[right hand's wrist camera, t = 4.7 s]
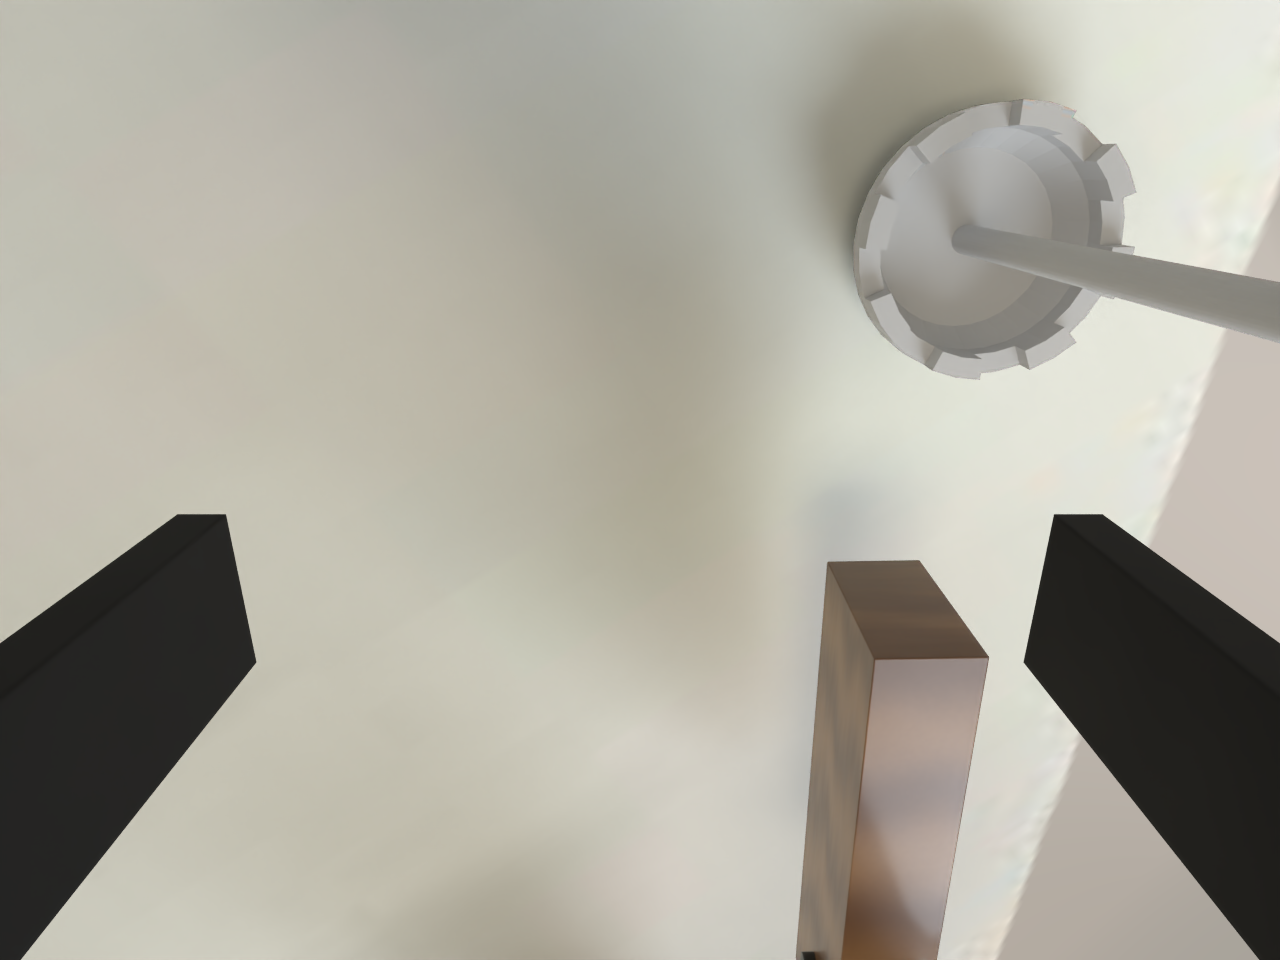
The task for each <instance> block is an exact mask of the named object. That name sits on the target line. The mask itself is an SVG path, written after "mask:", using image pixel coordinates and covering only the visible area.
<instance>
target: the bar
mask: <svg viewBox="0 0 1280 960" xmlns="http://www.w3.org/2000/svg"><path fill="white" fill-rule="evenodd" d="M988 660H989V656H988V655H987V654H986V652H985V651H984V649H983V648H982V647H981V645H980V644H979V642H978V641H977V640H976V638H975V637H974V636H973V634H972V633H971V631H970V630H969V629H968V627H967V626H966V624H965V623H964V622H963V620H962V619H961V617H960V616H959V615H958V613H957V612H956V611H955V609H954V608H953V606H952V605H951V604H950V602H949V601H948V599H947V598H946V597H945V595H944V594H943V593H942V591H941V590H940V588H939V587H938V586H937V584H936V583H935V581H934V580H933V579H932V577H931V576H930V574H929V573H928V572H927V570H926V569H925V568H924V566H923V565H922V563H921V562H920V561H919V560H908V561H846V562H828V563H827V573H826V585H825V598H824V610H823V623H822V635H821V648H820V661H819V673H818V686H817V698H816V711H815V723H814V736H813V748H812V761H811V773H810V786H809V799H808V811H807V824H806V836H805V849H804V861H803V874H802V886H801V899H800V911H799V924H798V936H797V949H796V960H800V957H801V952H803V951H813V952H814V954H815V958H816V960H937V955H938V949H939V943H940V937H941V932H942V926H943V920H944V914H945V909H946V903H947V897H948V891H949V886H950V880H951V874H952V868H953V862H954V857H955V851H956V845H957V839H958V834H959V828H960V822H961V816H962V810H963V805H964V799H965V793H966V787H967V782H968V776H969V770H970V764H971V758H972V753H973V747H974V741H975V735H976V730H977V724H978V718H979V712H980V706H981V701H982V695H983V689H984V683H985V678H986V672H987V666H988Z"/></svg>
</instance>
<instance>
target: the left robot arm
mask: <svg viewBox="0 0 1280 960" xmlns="http://www.w3.org/2000/svg"><path fill="white" fill-rule="evenodd" d="M800 960H816V958H815V954H814V952H813V951H803V952H801V957H800Z"/></svg>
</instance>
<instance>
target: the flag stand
mask: <svg viewBox="0 0 1280 960" xmlns="http://www.w3.org/2000/svg"><path fill="white" fill-rule="evenodd" d="M1075 112H1076V110H1073V109H1070V108H1068V107H1065V106H1062V105H1059V104H1056V103H1053V102H1048V101H1038V100H1028V99H1021V100H1015V101H1007V102H999V103H990V104H983V105H977V106H973V107H970V108H967V109H964V110H961V111H958V112H955V113H952V114H949V115H947V116H945V117H943V118H941V119H939V120H938V121H936V122H934V123H932V124H931V125H929V126H927V127H925V128H923V129H922V130H921V131H920V132H918V133H917V134H916V135H915V136H914V137H912V138H911V139H910V140H909V141H908V142H906V143H905V144H904V145H903V146H901V148H900V149H899V150H898V151H897V152H896V153H895V155H894V156H893V157H892V158H891V159H890V160H889V162H888V163H887V164H886V165H885V166H884V167H883V169H882V170H881V172H880V174H879V175H878V177H877V179H876V180H875V182H874V184H873V185H872V187H871V189H870V190H869V192H868V194H867V197H866V200H865V202H864V205H863V207H862V210H861V213H860V215H859V218H858V223H857V228H856V234H855V239H854V244H853V264H854V275H855V280H856V285H857V290H858V295H859V297H860V299H861V301H862V304H863V306H864V308H865V311H866V313H867V315H868V317H869V318H870V320H871V321H872V322H873V324H874V325H875V327H876V328H877V329H878V331H879V332H880V334H881V335H882V336H883V337H885V338H886V339H887V340H888V341H889V342H890V343H891V344H893V345H894V346H895V347H896V348H897V349H898V350H900V351H901V352H902V353H904V354H905V355H907V356H909V357H911V358H913V359H914V360H916V361H918V362H920V363H922V364H923V365H925V366H927V367H928V368H929V369H931V370H932V371H935V372H939V373H942V374H945V375H949V376H952V377H955V378H967V379H978V380H980V374H981V373H986V372H996V371H999V370H1002V369H1006V368H1009V367H1013V366H1016V365H1022V366H1024V367H1025V368H1027V369H1029V370H1030V369H1032V368H1034V367H1036V366H1039V365H1041V364H1043V363H1045V362H1047V361H1049V360H1051V359H1053V358H1055V357H1056V356H1057V355H1059V354H1060V353H1062V352H1063V351H1065V350H1066V349H1067V348H1069V347H1070V346H1072V345H1073V344H1074V343H1076V341H1075V340H1074V338H1073V337H1072V336H1071V335H1070V332H1071V331H1072V330H1073V329H1074V328H1075V327H1076V326H1077V325H1078V324H1079V323H1080V322H1081V321H1082V320H1083V319H1084V318H1085V317H1086V316H1087V314H1088V313H1089V311H1090V310H1091V309H1092V307H1093V306H1094V305H1095V303H1096V302H1097V300H1098V299H1099V298H1100V296H1103V297H1107V298H1110V299H1114V297H1117V298H1120V299H1124V300H1127V301H1131V302H1134V303H1138V304H1142V305H1145V306H1149V307H1152V308H1156V309H1159V310H1163V311H1167V312H1170V313H1174V314H1177V315H1181V316H1184V317H1188V318H1192V319H1195V320H1199V321H1202V322H1206V323H1209V324H1213V325H1217V326H1220V327H1224V328H1227V329H1231V330H1234V331H1238V332H1242V333H1245V334H1249V335H1252V336H1256V337H1259V338H1263V339H1267V340H1270V341H1274V342H1277V343H1280V282H1275V281H1270V280H1264V279H1259V278H1254V277H1248V276H1243V275H1237V274H1232V273H1227V272H1221V271H1216V270H1210V269H1205V268H1200V267H1194V266H1189V265H1183V264H1178V263H1173V262H1167V261H1162V260H1156V259H1151V258H1146V257H1140V256H1135V255H1133V252H1134V248H1135V247H1132V246H1126V245H1121V244H1122V236H1123V227H1124V219H1125V217H1124V204H1123V198H1124V197H1126V196H1129V195H1131V194H1133V193H1136V189H1135V186H1134V182H1133V179H1132V175H1131V172H1130V169H1129V166H1128V164H1127V162H1126V161H1125V159H1124V157H1123V155H1122V153H1121V152H1120V150H1119V148H1118V146H1117V144H1102V143H1101V142H1100V141H1099V140H1098V139H1097V138H1096V137H1095V136H1094V135H1093V134H1092V133H1091V132H1090V130H1089V129H1088V128H1087V127H1086V126H1085V125H1083V124H1081V123H1080V122H1078V121H1077V120H1075V119H1074V118H1073V116H1074V114H1075Z"/></svg>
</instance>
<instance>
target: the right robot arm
mask: <svg viewBox="0 0 1280 960" xmlns="http://www.w3.org/2000/svg"><path fill="white" fill-rule="evenodd" d="M255 663H256V658H255V653H254V649H253V644H252V639H251V634H250V629H249V624H248V619H247V615H246V610H245V605H244V600H243V595H242V590H241V585H240V581H239V576H238V571H237V566H236V561H235V556H234V551H233V547H232V542H231V537H230V532H229V527H228V522H227V517H226V514H177V515H176V516H175V517H173V518H172V519H171V520H169V521H168V522H166V523H165V524H164V525H162V526H161V527H160V528H158V529H157V530H155V531H154V532H153V533H151V534H150V535H149V536H147V537H146V538H144V539H143V540H142V541H140V542H139V543H138V544H136V545H135V546H133V547H132V548H131V549H129V550H128V551H127V552H125V553H124V554H122V555H121V556H120V557H118V558H117V559H116V560H114V561H113V562H111V563H110V564H109V565H107V566H106V567H105V568H103V569H102V570H100V571H99V572H98V573H96V574H95V575H94V576H92V577H91V578H89V579H88V580H87V581H85V582H84V583H83V584H81V585H80V586H78V587H77V588H76V589H74V590H73V591H72V592H70V593H69V594H67V595H66V596H65V597H63V598H62V599H61V600H59V601H58V602H56V603H55V604H54V605H52V606H51V607H50V608H48V609H47V610H45V611H44V612H43V613H41V614H40V615H39V616H37V617H36V618H34V619H33V620H32V621H30V622H29V623H28V624H26V625H25V626H23V627H22V628H21V629H19V630H18V631H16V632H15V633H14V634H12V635H11V636H10V637H8V638H7V639H5V640H4V641H3V642H1V643H0V960H21V959H22V957H23V956H24V955H25V954H26V952H27V951H28V950H29V949H30V947H31V946H32V945H33V944H34V942H35V941H36V940H37V939H38V937H39V936H40V935H41V933H42V932H43V931H44V930H45V928H46V927H47V926H48V925H49V923H50V922H51V921H52V920H53V918H54V917H55V916H56V915H57V913H58V912H59V911H60V909H61V908H62V907H63V906H64V904H65V903H66V902H67V901H68V899H69V898H70V897H71V896H72V894H73V893H74V892H75V891H76V889H77V888H78V887H79V886H80V884H81V883H82V882H83V880H84V879H85V878H86V877H87V875H88V874H89V873H90V872H91V870H92V869H93V868H94V867H95V865H96V864H97V863H98V862H99V860H100V859H101V858H102V856H103V855H104V854H105V853H106V851H107V850H108V849H109V848H110V846H111V845H112V844H113V843H114V841H115V840H116V839H117V838H118V836H119V835H120V834H121V833H122V831H123V830H124V829H125V827H126V826H127V825H128V824H129V822H130V821H131V820H132V819H133V817H134V816H135V815H136V814H137V812H138V811H139V810H140V809H141V807H142V806H143V805H144V803H145V802H146V801H147V800H148V798H149V797H150V796H151V795H152V793H153V792H154V791H155V790H156V788H157V787H158V786H159V785H160V783H161V782H162V781H163V780H164V778H165V777H166V776H167V774H168V773H169V772H170V771H171V769H172V768H173V767H174V766H175V764H176V763H177V762H178V761H179V759H180V758H181V757H182V756H183V754H184V753H185V752H186V750H187V749H188V748H189V747H190V745H191V744H192V743H193V742H194V740H195V739H196V738H197V737H198V735H199V734H200V733H201V732H202V730H203V729H204V728H205V727H206V725H207V724H208V723H209V721H210V720H211V719H212V718H213V716H214V715H215V714H216V713H217V711H218V710H219V709H220V708H221V706H222V705H223V704H224V703H225V701H226V700H227V699H228V697H229V696H230V695H231V694H232V692H233V691H234V690H235V689H236V687H237V686H238V685H239V684H240V682H241V681H242V680H243V679H244V677H245V676H246V675H247V674H248V672H249V671H250V670H251V668H252V667H253V666H254V665H255ZM1024 663H1025V665H1026V666H1027V667H1028V668H1029V670H1030V671H1031V672H1032V674H1033V675H1034V676H1035V677H1036V679H1037V680H1038V681H1039V682H1040V684H1041V685H1042V686H1043V687H1044V689H1045V690H1046V691H1047V692H1048V694H1049V695H1050V696H1051V697H1052V699H1053V700H1054V701H1055V703H1056V704H1057V705H1058V706H1059V708H1060V709H1061V710H1062V711H1063V713H1064V714H1065V715H1066V716H1067V718H1068V719H1069V720H1070V721H1071V723H1072V724H1073V725H1074V727H1075V728H1076V729H1077V730H1078V732H1079V733H1080V734H1081V735H1082V737H1083V738H1084V739H1085V740H1086V742H1087V743H1088V744H1089V745H1090V747H1091V748H1092V749H1093V750H1094V752H1095V753H1096V754H1097V756H1098V757H1099V758H1100V759H1101V761H1102V762H1103V763H1104V764H1105V766H1106V767H1107V768H1108V769H1109V771H1110V772H1111V773H1112V774H1113V776H1114V777H1115V778H1116V780H1117V781H1118V782H1119V783H1120V784H1121V786H1122V787H1123V788H1124V789H1125V791H1126V792H1127V793H1128V795H1129V796H1130V797H1131V798H1132V800H1133V801H1134V802H1135V803H1136V805H1137V806H1138V807H1139V809H1140V810H1141V811H1142V812H1143V814H1144V815H1145V816H1146V817H1147V819H1148V820H1149V821H1150V822H1151V824H1152V825H1153V826H1154V827H1155V829H1156V830H1157V831H1158V833H1159V834H1160V835H1161V836H1162V838H1163V839H1164V840H1165V841H1166V843H1167V844H1168V845H1169V846H1170V848H1171V849H1172V850H1173V851H1174V853H1175V854H1176V855H1177V856H1178V858H1179V859H1180V860H1181V862H1182V863H1183V864H1184V865H1185V866H1186V868H1187V869H1188V870H1189V872H1190V873H1191V874H1192V875H1193V877H1194V878H1195V879H1196V880H1197V882H1198V883H1199V884H1200V886H1201V887H1202V888H1203V889H1204V890H1205V892H1206V893H1207V894H1208V896H1209V897H1210V898H1211V899H1212V901H1213V902H1214V903H1215V904H1216V906H1217V907H1218V908H1219V909H1220V911H1221V912H1222V913H1223V915H1224V916H1225V917H1226V918H1227V920H1228V921H1229V922H1230V923H1231V925H1232V926H1233V927H1234V928H1235V930H1236V931H1237V932H1238V933H1239V935H1240V936H1241V937H1242V938H1243V940H1244V941H1245V942H1246V944H1247V945H1248V946H1249V947H1250V949H1251V950H1252V951H1253V952H1254V954H1255V955H1256V956H1257V957H1258V959H1259V960H1280V643H1279V642H1277V641H1276V640H1275V639H1273V638H1272V637H1270V636H1269V635H1268V634H1266V633H1265V632H1264V631H1262V630H1261V629H1259V628H1258V627H1257V626H1255V625H1254V624H1252V623H1251V622H1250V621H1248V620H1247V619H1246V618H1244V617H1243V616H1241V615H1240V614H1239V613H1237V612H1236V611H1235V610H1233V609H1232V608H1230V607H1229V606H1228V605H1226V604H1225V603H1224V602H1222V601H1221V600H1219V599H1218V598H1217V597H1215V596H1214V595H1212V594H1211V593H1210V592H1208V591H1207V590H1206V589H1204V588H1203V587H1202V586H1200V585H1199V584H1197V583H1196V582H1195V581H1193V580H1192V579H1191V578H1189V577H1188V576H1186V575H1185V574H1184V573H1182V572H1181V571H1180V570H1178V569H1177V568H1175V567H1174V566H1173V565H1171V564H1170V563H1169V562H1167V561H1166V560H1164V559H1163V558H1162V557H1160V556H1159V555H1157V554H1156V553H1155V552H1153V551H1152V550H1151V549H1149V548H1148V547H1147V546H1145V545H1144V544H1142V543H1141V542H1140V541H1138V540H1137V539H1136V538H1134V537H1133V536H1131V535H1130V534H1129V533H1127V532H1126V531H1125V530H1123V529H1122V528H1120V527H1119V526H1118V525H1116V524H1115V523H1114V522H1112V521H1111V520H1109V519H1108V518H1107V517H1105V516H1104V515H1103V514H1054V517H1053V522H1052V527H1051V532H1050V537H1049V542H1048V547H1047V551H1046V556H1045V561H1044V566H1043V571H1042V576H1041V581H1040V585H1039V590H1038V595H1037V600H1036V605H1035V610H1034V615H1033V619H1032V624H1031V629H1030V634H1029V639H1028V644H1027V649H1026V653H1025V658H1024Z"/></svg>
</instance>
